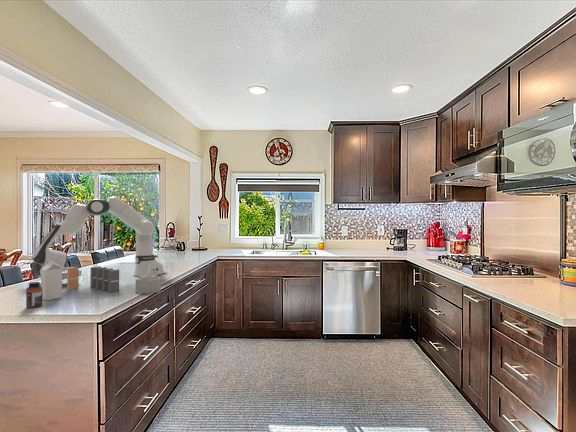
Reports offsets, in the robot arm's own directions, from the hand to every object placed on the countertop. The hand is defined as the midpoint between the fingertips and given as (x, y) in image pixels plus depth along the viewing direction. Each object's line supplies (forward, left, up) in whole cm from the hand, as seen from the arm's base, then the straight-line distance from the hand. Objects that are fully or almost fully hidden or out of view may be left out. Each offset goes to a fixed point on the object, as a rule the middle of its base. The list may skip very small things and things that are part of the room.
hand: (67, 276), depth 194 cm
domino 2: (-9, +20, -7) cm, 23 cm away
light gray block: (-22, +47, -7) cm, 52 cm away
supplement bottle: (+28, +33, -7) cm, 43 cm away
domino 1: (-9, +13, -7) cm, 17 cm away
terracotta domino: (0, +7, -7) cm, 9 cm away
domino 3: (-9, +26, -7) cm, 29 cm away
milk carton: (+17, +22, -7) cm, 28 cm away
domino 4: (-9, +33, -7) cm, 35 cm away
